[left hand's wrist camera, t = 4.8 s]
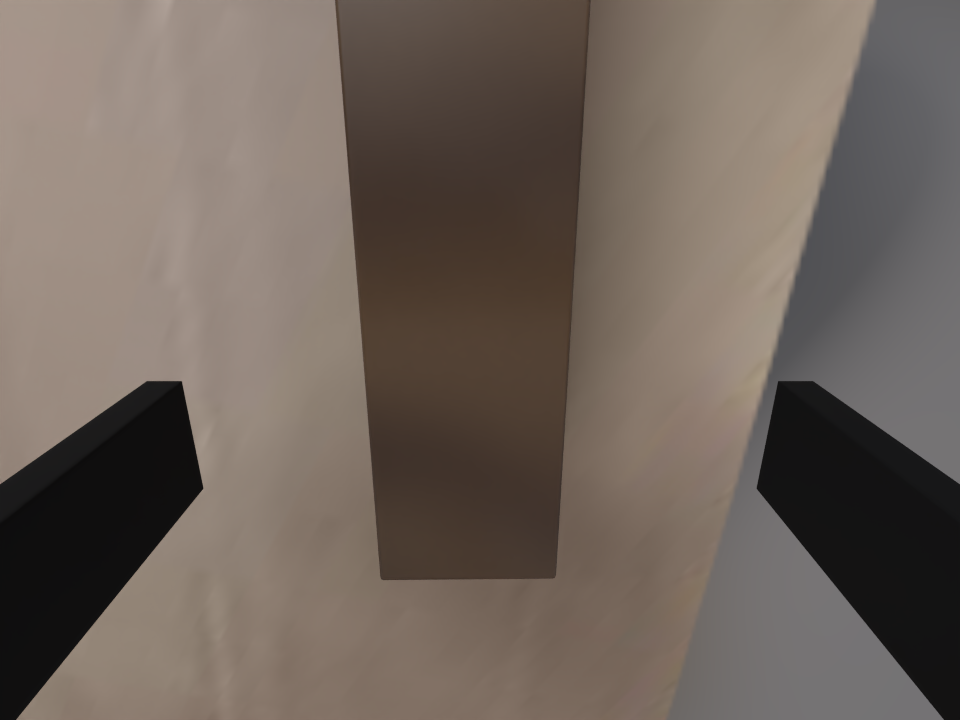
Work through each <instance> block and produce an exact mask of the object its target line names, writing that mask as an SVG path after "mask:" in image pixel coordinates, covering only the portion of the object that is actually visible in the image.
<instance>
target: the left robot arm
mask: <svg viewBox="0 0 960 720" xmlns="http://www.w3.org/2000/svg"><path fill="white" fill-rule="evenodd" d="M202 490H203V484H202V479H201V474H200V469H199V464H198V459H197V454H196V449H195V445H194V440H193V435H192V430H191V425H190V420H189V415H188V410H187V405H186V400H185V395H184V390H183V385H182V381H147V382H145V383H144V384H142V385H141V386H140V387H138V388H137V389H135V390H134V391H132V392H131V393H130V394H128V395H127V396H125V397H124V398H122V399H121V400H120V401H118V402H117V403H115V404H114V405H112V406H111V407H110V408H108V409H107V410H105V411H104V412H103V413H101V414H100V415H98V416H97V417H95V418H94V419H93V420H91V421H90V422H88V423H87V424H85V425H84V426H83V427H81V428H80V429H78V430H77V431H75V432H74V433H73V434H71V435H70V436H68V437H67V438H66V439H64V440H63V441H61V442H60V443H58V444H57V445H56V446H54V447H53V448H51V449H50V450H48V451H47V452H46V453H44V454H43V455H41V456H40V457H38V458H37V459H36V460H34V461H33V462H31V463H30V464H29V465H27V466H26V467H24V468H23V469H21V470H20V471H19V472H17V473H16V474H14V475H13V476H11V477H10V478H9V479H7V480H6V481H4V482H3V483H1V484H0V720H16V719H17V718H18V717H19V715H20V714H21V713H22V712H23V710H24V709H25V708H26V707H27V705H28V704H29V703H30V702H31V701H32V699H33V698H34V697H35V696H36V694H37V693H38V692H39V691H40V689H41V688H42V687H43V686H44V685H45V683H46V682H47V681H48V680H49V678H50V677H51V676H52V675H53V673H54V672H55V671H56V670H57V668H58V667H59V666H60V665H61V664H62V662H63V661H64V660H65V659H66V657H67V656H68V655H69V654H70V652H71V651H72V650H73V649H74V647H75V646H76V645H77V644H78V643H79V641H80V640H81V639H82V638H83V636H84V635H85V634H86V633H87V631H88V630H89V629H90V628H91V627H92V625H93V624H94V623H95V622H96V620H97V619H98V618H99V617H100V615H101V614H102V613H103V612H104V610H105V609H106V608H107V607H108V606H109V604H110V603H111V602H112V601H113V599H114V598H115V597H116V596H117V594H118V593H119V592H120V591H121V590H122V588H123V587H124V586H125V585H126V583H127V582H128V581H129V580H130V578H131V577H132V576H133V575H134V573H135V572H136V571H137V570H138V569H139V567H140V566H141V565H142V564H143V562H144V561H145V560H146V559H147V557H148V556H149V555H150V554H151V552H152V551H153V550H154V549H155V548H156V546H157V545H158V544H159V543H160V541H161V540H162V539H163V538H164V536H165V535H166V534H167V533H168V532H169V530H170V529H171V528H172V527H173V525H174V524H175V523H176V522H177V520H178V519H179V518H180V517H181V515H182V514H183V513H184V512H185V511H186V509H187V508H188V507H189V506H190V504H191V503H192V502H193V501H194V499H195V498H196V497H197V496H198V495H199V493H200V492H201V491H202ZM757 490H758V491H759V492H760V493H761V495H762V496H763V497H764V498H765V499H766V501H767V502H768V503H769V504H770V506H771V507H772V508H773V509H774V510H775V512H776V513H777V514H778V515H779V517H780V518H781V519H782V520H783V522H784V523H785V524H786V525H787V527H788V528H789V529H790V530H791V531H792V533H793V534H794V535H795V536H796V538H797V539H798V540H799V541H800V543H801V544H802V545H803V546H804V547H805V549H806V550H807V551H808V552H809V554H810V555H811V556H812V557H813V559H814V560H815V561H816V562H817V564H818V565H819V566H820V567H821V568H822V570H823V571H824V572H825V573H826V575H827V576H828V577H829V578H830V580H831V581H832V582H833V583H834V585H835V586H836V587H837V588H838V589H839V591H840V592H841V593H842V594H843V596H844V597H845V598H846V599H847V601H848V602H849V603H850V604H851V606H852V607H853V608H854V609H855V610H856V612H857V613H858V614H859V615H860V617H861V618H862V619H863V620H864V622H865V623H866V624H867V625H868V627H869V628H870V629H871V630H872V631H873V633H874V634H875V635H876V636H877V638H878V639H879V640H880V641H881V643H882V644H883V645H884V646H885V647H886V649H887V650H888V651H889V652H890V654H891V655H892V656H893V657H894V659H895V660H896V661H897V662H898V664H899V665H900V666H901V667H902V668H903V670H904V671H905V672H906V673H907V675H908V676H909V677H910V678H911V680H912V681H913V682H914V683H915V685H916V686H917V687H918V688H919V689H920V691H921V692H922V693H923V694H924V696H925V697H926V698H927V699H928V700H929V702H930V703H931V704H932V705H933V707H934V708H935V709H936V710H937V712H938V713H939V714H940V715H941V717H942V718H943V719H944V720H960V484H958V483H957V482H956V481H954V480H953V479H951V478H950V477H948V476H947V475H946V474H944V473H943V472H941V471H940V470H939V469H937V468H936V467H934V466H933V465H931V464H930V463H929V462H927V461H926V460H924V459H923V458H922V457H920V456H919V455H917V454H916V453H914V452H913V451H912V450H910V449H909V448H907V447H906V446H904V445H903V444H902V443H900V442H899V441H897V440H896V439H894V438H893V437H892V436H890V435H889V434H887V433H886V432H884V431H883V430H882V429H880V428H879V427H877V426H876V425H875V424H873V423H872V422H870V421H869V420H867V419H866V418H864V417H863V416H862V415H860V414H859V413H857V412H856V411H855V410H853V409H852V408H850V407H849V406H847V405H846V404H845V403H843V402H842V401H840V400H839V399H838V398H836V397H835V396H833V395H832V394H830V393H829V392H828V391H826V390H825V389H823V388H822V387H820V386H819V385H818V384H816V383H815V382H813V381H778V385H777V390H776V395H775V400H774V405H773V410H772V415H771V420H770V425H769V430H768V435H767V440H766V445H765V449H764V454H763V459H762V464H761V469H760V474H759V479H758V484H757Z"/></svg>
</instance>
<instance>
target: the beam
mask: <svg viewBox="0 0 960 720" xmlns="http://www.w3.org/2000/svg"><path fill="white" fill-rule="evenodd" d="M335 5H336V18H337V30H338V43H339V56H340V68H341V81H342V94H343V107H344V119H345V132H346V145H347V157H348V170H349V183H350V196H351V208H352V221H353V234H354V246H355V259H356V272H357V284H358V297H359V310H360V323H361V335H362V348H363V361H364V373H365V386H366V399H367V412H368V424H369V437H370V450H371V462H372V475H373V488H374V501H375V513H376V526H377V539H378V551H379V564H380V576H381V579H382V580H428V579H539V578H555V576H556V564H557V548H558V531H559V515H560V498H561V481H562V465H563V448H564V431H565V415H566V398H567V381H568V365H569V348H570V332H571V315H572V298H573V282H574V265H575V248H576V232H577V215H578V198H579V182H580V165H581V149H582V132H583V115H584V99H585V82H586V65H587V49H588V32H589V15H590V0H335Z"/></svg>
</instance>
